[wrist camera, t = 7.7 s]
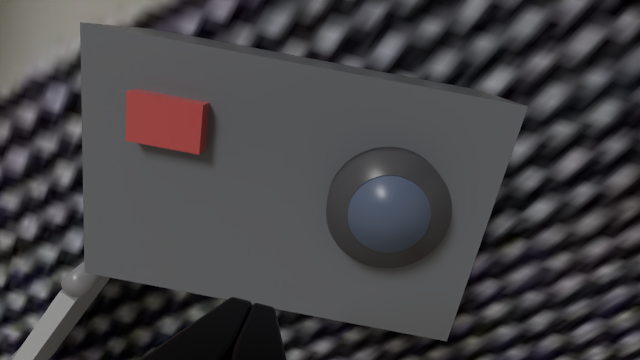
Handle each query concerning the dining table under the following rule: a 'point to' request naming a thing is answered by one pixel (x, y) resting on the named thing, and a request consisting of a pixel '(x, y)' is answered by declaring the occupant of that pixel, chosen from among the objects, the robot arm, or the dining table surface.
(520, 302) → the dining table surface
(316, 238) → the grey appliance box
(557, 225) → the dining table surface
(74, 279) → the side door
